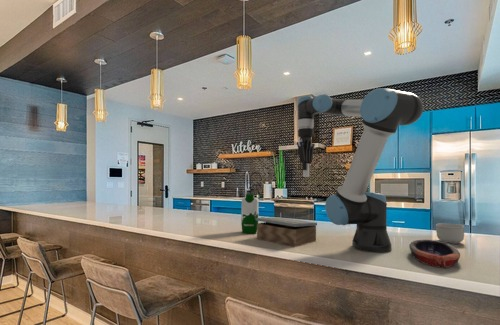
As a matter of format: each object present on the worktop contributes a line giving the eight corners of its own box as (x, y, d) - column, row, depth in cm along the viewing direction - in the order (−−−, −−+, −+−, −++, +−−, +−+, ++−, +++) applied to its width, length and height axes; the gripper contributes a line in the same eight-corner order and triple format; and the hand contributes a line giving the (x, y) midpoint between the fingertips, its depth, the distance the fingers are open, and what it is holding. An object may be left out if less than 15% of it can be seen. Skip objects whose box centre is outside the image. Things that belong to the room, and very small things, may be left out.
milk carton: (240, 233, 152) (240, 194, 153) (242, 230, 161) (242, 193, 162) (257, 234, 151) (257, 194, 152) (258, 231, 160) (259, 193, 161)
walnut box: (316, 241, 137) (316, 225, 137) (294, 246, 125) (294, 230, 126) (278, 234, 152) (279, 220, 153) (257, 238, 141) (257, 223, 141)
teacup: (469, 245, 130) (468, 227, 131) (441, 244, 133) (441, 226, 133) (454, 239, 144) (454, 222, 144) (429, 238, 146) (429, 221, 147)
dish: (452, 252, 120) (452, 239, 120) (467, 275, 92) (466, 258, 92) (408, 247, 127) (408, 235, 127) (410, 267, 99) (409, 252, 100)
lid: (316, 225, 137) (317, 222, 137) (294, 226, 125) (295, 223, 125) (278, 219, 153) (278, 216, 153) (255, 220, 141) (255, 217, 142)
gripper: (306, 131, 154) (306, 177, 153) (291, 127, 144) (292, 176, 143) (319, 129, 149) (319, 177, 147) (305, 126, 139) (305, 176, 138)
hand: (306, 176), depth 145 cm, fingers closed
